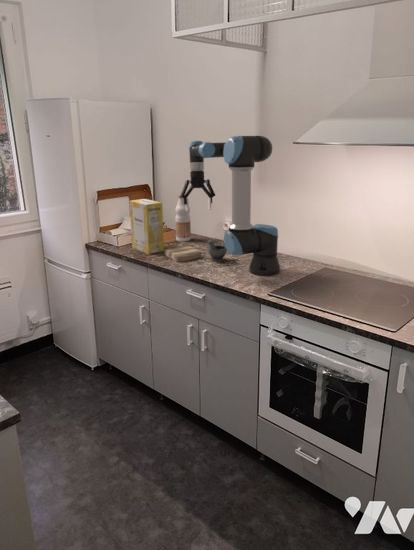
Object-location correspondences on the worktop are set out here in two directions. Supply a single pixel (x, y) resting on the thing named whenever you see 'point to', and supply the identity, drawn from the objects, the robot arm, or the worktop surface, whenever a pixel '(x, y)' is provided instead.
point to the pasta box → (146, 225)
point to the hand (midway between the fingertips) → (198, 210)
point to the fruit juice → (182, 221)
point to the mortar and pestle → (216, 251)
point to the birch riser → (182, 253)
